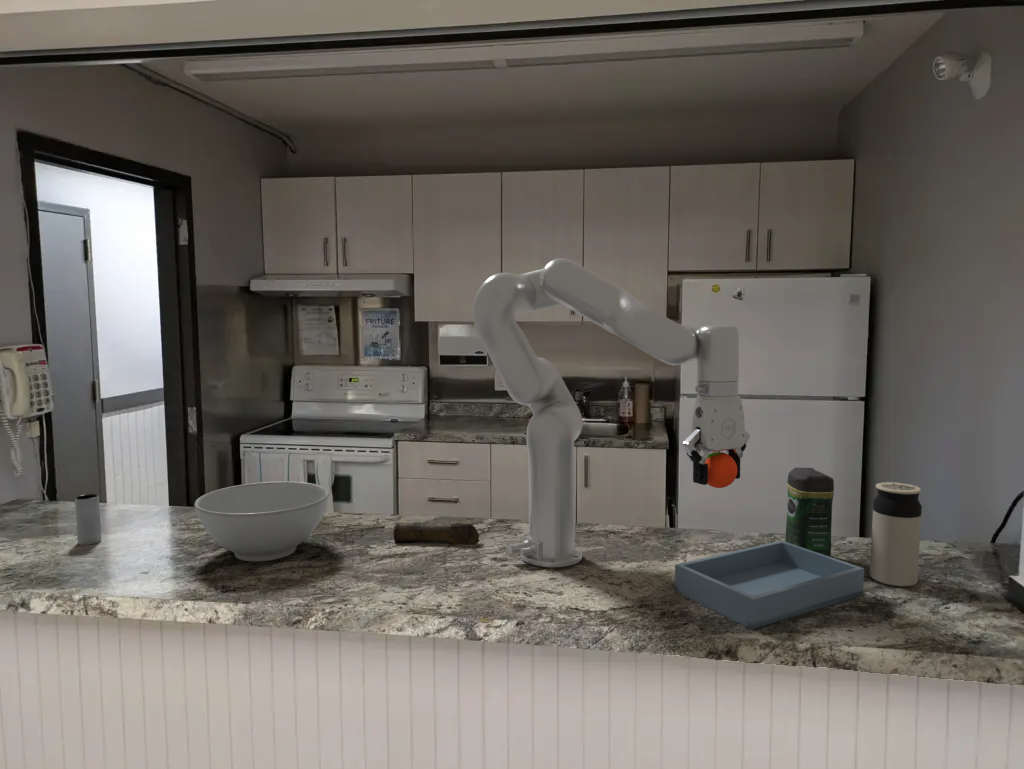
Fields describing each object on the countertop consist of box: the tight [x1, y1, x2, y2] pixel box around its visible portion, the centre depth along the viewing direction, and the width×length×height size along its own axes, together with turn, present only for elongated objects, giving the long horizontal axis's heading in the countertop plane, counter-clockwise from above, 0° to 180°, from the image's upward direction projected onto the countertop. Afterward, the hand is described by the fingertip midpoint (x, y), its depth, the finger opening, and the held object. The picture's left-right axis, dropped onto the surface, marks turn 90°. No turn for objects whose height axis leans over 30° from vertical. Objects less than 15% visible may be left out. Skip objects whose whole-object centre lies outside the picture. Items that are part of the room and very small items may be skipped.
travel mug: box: [869, 481, 922, 588], centre depth 133 cm, size 8×8×18 cm
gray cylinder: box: [74, 493, 102, 546], centre depth 156 cm, size 4×4×10 cm
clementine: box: [705, 451, 737, 489], centre depth 135 cm, size 8×7×7 cm
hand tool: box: [393, 522, 480, 546], centre depth 156 cm, size 19×4×5 cm, turn 81°
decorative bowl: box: [193, 480, 330, 562], centre depth 149 cm, size 27×27×12 cm
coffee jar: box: [784, 467, 835, 557], centre depth 145 cm, size 10×8×19 cm
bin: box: [674, 540, 865, 630], centre depth 127 cm, size 28×18×5 cm, turn 119°
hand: (716, 479), depth 136 cm, fingers closed on clementine, 8 cm apart
